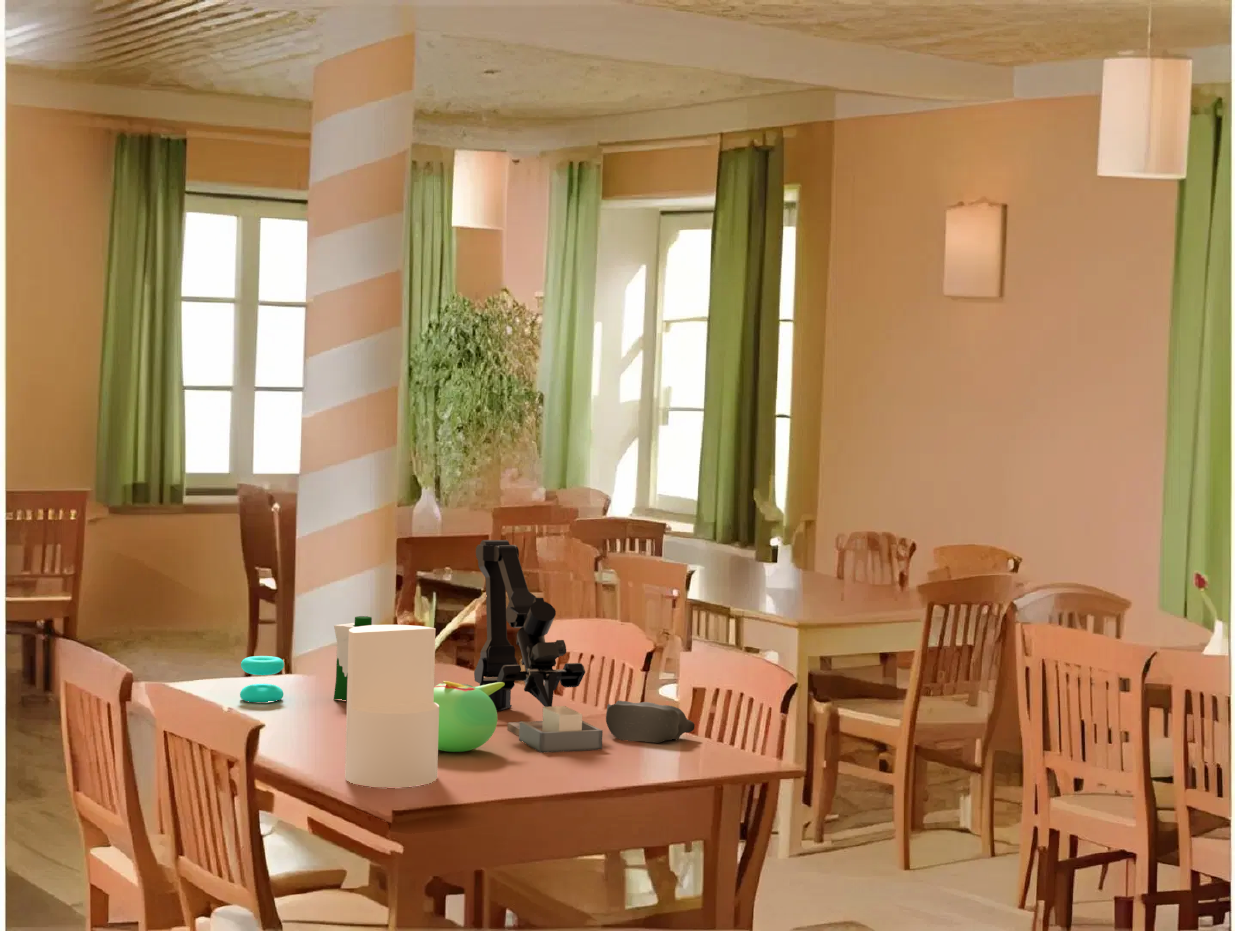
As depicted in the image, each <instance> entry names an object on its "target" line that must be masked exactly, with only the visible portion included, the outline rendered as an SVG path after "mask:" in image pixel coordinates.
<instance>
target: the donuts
mask: <svg viewBox="0 0 1235 931" xmlns="http://www.w3.org/2000/svg"><path fill="white" fill-rule="evenodd" d="M284 667H285V662H284V660H283V659H282V658H280V657H278V656H271V655H270V656H269V655H254V656H248V657H245V658H243V659H242V661H241V662H240V668H241V669H242V671H243V672H245V673H247V674H248V675H249V674H250V675H255V676H268V675H269V676H272V675H276V674H278V673H280V672H281V671H283V669H284ZM239 696H240V699H241V700H242V699H243V700H242V701H244V700H245V701H244V702H246V701H249V702H248V703H250V702H268V701H276V700H279V701H280V699H281V700H282V698H284V691H283V689H282V688H281V687H280V686H278V685H276V684H272V683H271V684H270V683H254V684H253V683H252V684H249V685H246V686H244V687H243V688H242V689H241V690H240V693H239Z"/></svg>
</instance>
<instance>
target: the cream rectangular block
mask: <svg viewBox="0 0 1235 931" xmlns="http://www.w3.org/2000/svg"><path fill="white" fill-rule="evenodd" d="M542 708H543V709H542V721H543V727H542V732H560V731H582V721H583V713H581V712H579V711H576V710H575V709H572V708H570V707H568V706H566V705H552V706H551V707H544V706H542Z"/></svg>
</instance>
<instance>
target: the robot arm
mask: <svg viewBox="0 0 1235 931" xmlns="http://www.w3.org/2000/svg"><path fill="white" fill-rule="evenodd" d="M519 556H520V550H519V548H518V546H517V544H510V542H509V540H508V539H482V540H481V541H480V544H477V546H475V557H476V560H477V564H478V566H477V567H478V568H479V570H480V572H481V573H482V575H483V576H484V579H485V599H486V600H485V602H486V603H485V610H486V611H485V612H486V640H485V643H484V645H483V646H482V648H481V650H480V658H479V659H478V662H477V663H476V667H475V668H474V672H473V674H474V682H476V683H478V684H479V686H482V685H486V684H491V683H497V682H503V683H505V685H504V686H503V687H502V688H500V689H499V690H497V691H495V692H494V693H492V694H490V695H489V697H490V699H491V700H492V701H493V703H494V705H495V707H496V711H498V712H501V711H504V710H506V709H510V708H512V704H511V697H512V696H511V692H512V691H511V690H512V689H513V688H514V687H515V682H524V684H525V686H524V688H523V690H524V692H526V693H527V692H528V693H529V694H531V696H533V697H534V698H535V699H536V700H537V701H539V702H540V704H541V705H542V707H551V706H553V702H554V701H553V700H554V691H555V690H557V687H558V685H559V684H560V685H561V686H562V687H564V688H577V687H579V686H580V685H581V682H582V680H583V678H584V676H585V674H586V669H585V666H584V665H583V664H582V663H581V662H566V663H564V666H563V668H562V669H561V668H560V669H559V668H558V669H557V668H556V669H553V667H556V664H557V661H556V660H557V659H558V658H560V657H563V656H565V655H566V654H567V645H566V642H565V640H564V639H556V640H555V641H549V642H548V641H546V639H545V636H546V635H548V633H549V631H550V629H551V627H552V625H553V622H554V619H555V617H556V612H557V611H556V609H555V607H553V605H552V604H551V603H549V602H546V601H545V599H544V597H537V596H535V595H534V594H533V593H532V592H530V590H529V588H528V584H527V580H526V579H525V574H524V570H523V568H522V565H521V561H520V558H519ZM486 595H487V597H486ZM507 598H508V604H507ZM507 623H508V624H507ZM507 625H509V626H510V628H514V629H518V631H517V633H516V640H515V641H516V645H517V646H519V650H520V652H521V657H522V659H521V661H520V662H521V664H522V666H524V668H525V671H524V670H522V667H521V665H520V664H519V663H518V661H517V657H516V648H515V646H514V645H512V644H511V642H510V641H509V640H508V629H507V628H508V626H507Z"/></svg>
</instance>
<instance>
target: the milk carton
mask: <svg viewBox="0 0 1235 931" xmlns="http://www.w3.org/2000/svg"><path fill="white" fill-rule="evenodd" d="M372 619H373V618H372V616H368V615H367V616H366V615H364V616H363V615H360V616H354V622H351V623H350V622H349V623H343V624H342V623H340V624H334V625H333V627H334V633H335V639H336V663H335V666H336V667H335V668H336V670H335V686H334V695H333V700H334V699H342V700H346V701H347V679H348V642H349V629H351V628H354V627H359V626H368V625H374V624H373V623H372Z"/></svg>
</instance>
